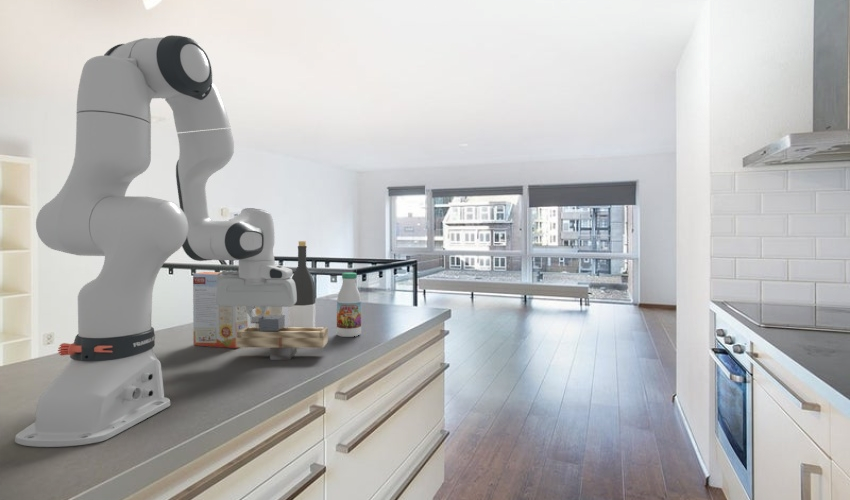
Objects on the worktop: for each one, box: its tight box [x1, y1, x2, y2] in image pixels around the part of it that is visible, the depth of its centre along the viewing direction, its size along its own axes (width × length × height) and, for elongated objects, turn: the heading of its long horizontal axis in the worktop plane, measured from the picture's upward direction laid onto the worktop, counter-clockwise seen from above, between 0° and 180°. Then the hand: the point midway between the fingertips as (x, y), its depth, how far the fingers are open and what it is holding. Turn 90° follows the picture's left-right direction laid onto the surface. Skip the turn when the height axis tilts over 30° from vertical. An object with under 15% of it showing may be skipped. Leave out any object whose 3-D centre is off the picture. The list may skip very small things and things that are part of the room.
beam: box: [237, 326, 329, 361], centre depth 116 cm, size 22×7×7 cm, turn 92°
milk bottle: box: [336, 272, 362, 338], centre depth 140 cm, size 8×8×20 cm
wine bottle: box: [287, 240, 316, 327], centre depth 135 cm, size 8×8×30 cm
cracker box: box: [192, 271, 249, 349], centre depth 126 cm, size 14×6×21 cm, turn 76°
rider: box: [259, 314, 286, 331], centre depth 115 cm, size 5×6×5 cm
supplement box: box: [254, 306, 283, 327], centre depth 144 cm, size 8×5×13 cm, turn 58°
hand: (256, 323), depth 115 cm, fingers closed
